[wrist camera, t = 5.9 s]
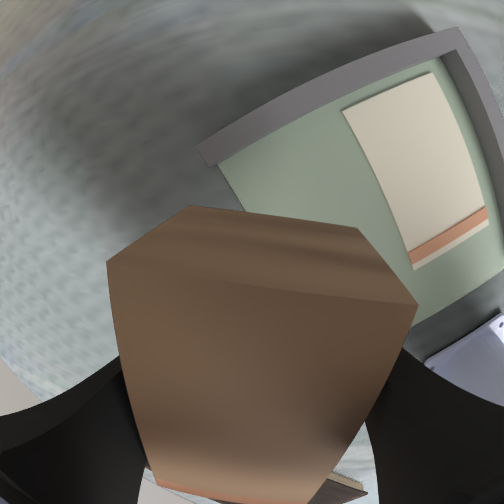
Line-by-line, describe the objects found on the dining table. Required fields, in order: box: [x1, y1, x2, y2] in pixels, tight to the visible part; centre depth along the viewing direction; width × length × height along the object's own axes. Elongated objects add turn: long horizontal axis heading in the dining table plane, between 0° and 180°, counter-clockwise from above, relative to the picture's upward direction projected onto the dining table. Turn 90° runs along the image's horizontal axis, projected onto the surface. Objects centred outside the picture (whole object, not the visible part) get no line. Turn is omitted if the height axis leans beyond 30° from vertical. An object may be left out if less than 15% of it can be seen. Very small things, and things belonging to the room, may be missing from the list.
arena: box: [196, 27, 504, 328], centre depth 14 cm, size 16×16×2 cm
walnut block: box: [106, 205, 419, 504], centre depth 8 cm, size 9×5×5 cm, turn 174°
